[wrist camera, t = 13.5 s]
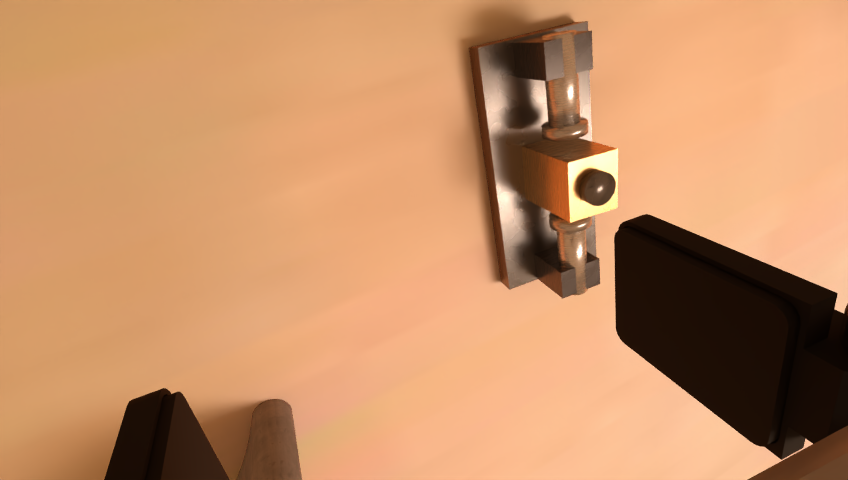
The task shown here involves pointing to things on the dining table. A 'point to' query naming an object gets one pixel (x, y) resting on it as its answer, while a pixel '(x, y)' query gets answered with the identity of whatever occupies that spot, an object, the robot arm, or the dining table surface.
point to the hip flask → (271, 444)
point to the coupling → (571, 177)
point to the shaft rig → (529, 123)
